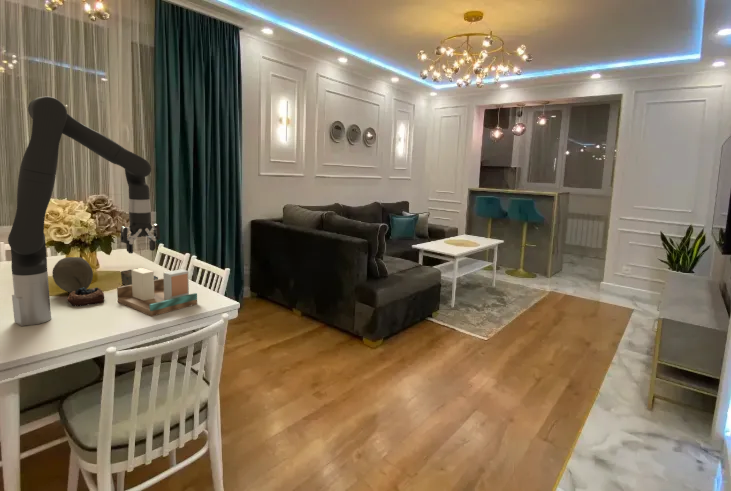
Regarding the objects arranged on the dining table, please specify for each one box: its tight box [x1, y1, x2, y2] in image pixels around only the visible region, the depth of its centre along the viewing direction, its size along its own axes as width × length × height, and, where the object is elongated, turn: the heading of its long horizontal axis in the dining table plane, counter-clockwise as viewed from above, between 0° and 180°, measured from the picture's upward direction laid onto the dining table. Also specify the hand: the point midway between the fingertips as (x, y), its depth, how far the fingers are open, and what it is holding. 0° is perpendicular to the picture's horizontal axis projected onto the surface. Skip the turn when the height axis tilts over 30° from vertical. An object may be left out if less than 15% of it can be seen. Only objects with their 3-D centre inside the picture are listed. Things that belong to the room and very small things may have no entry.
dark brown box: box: [120, 268, 159, 286], centre depth 185 cm, size 8×19×7 cm, turn 53°
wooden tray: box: [116, 277, 198, 317], centre depth 166 cm, size 19×24×6 cm
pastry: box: [67, 287, 105, 308], centre depth 162 cm, size 11×12×6 cm
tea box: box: [130, 267, 155, 301], centre depth 165 cm, size 8×5×11 cm, turn 57°
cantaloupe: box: [52, 256, 94, 293], centre depth 171 cm, size 14×14×15 cm
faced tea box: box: [163, 268, 190, 300], centre depth 166 cm, size 8×5×11 cm, turn 147°
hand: (141, 251), depth 162 cm, fingers open, 8 cm apart
